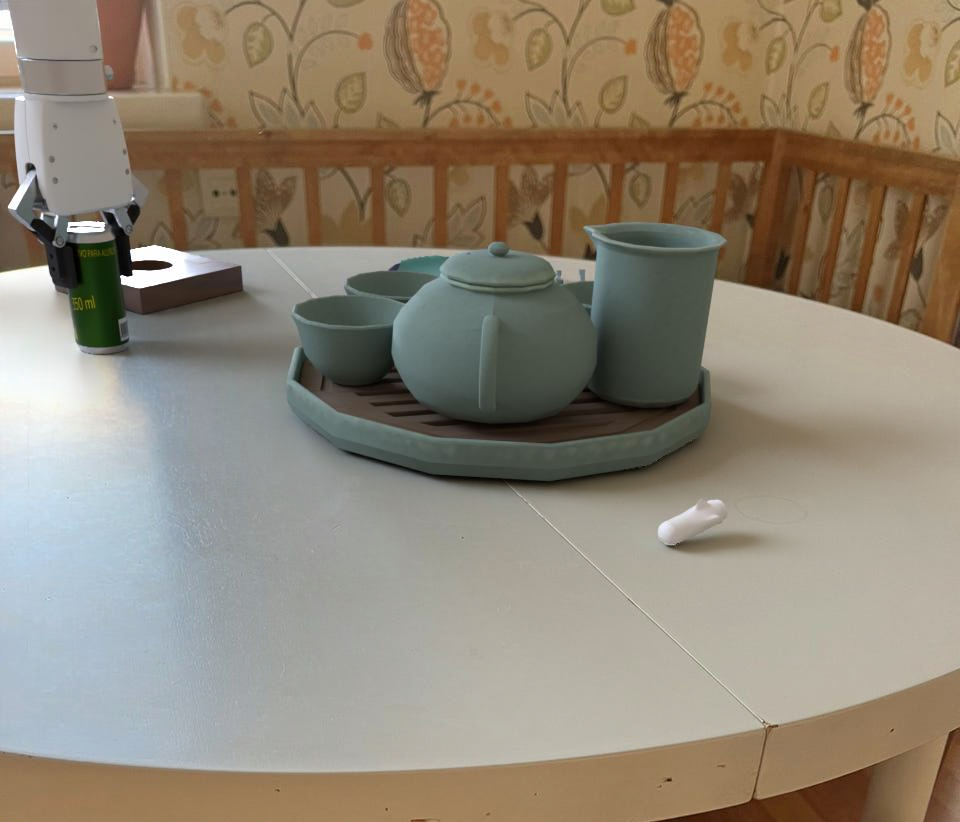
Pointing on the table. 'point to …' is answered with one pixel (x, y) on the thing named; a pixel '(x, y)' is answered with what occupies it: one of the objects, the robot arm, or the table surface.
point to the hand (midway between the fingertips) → (93, 278)
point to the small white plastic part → (692, 521)
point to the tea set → (516, 359)
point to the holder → (174, 279)
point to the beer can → (97, 289)
